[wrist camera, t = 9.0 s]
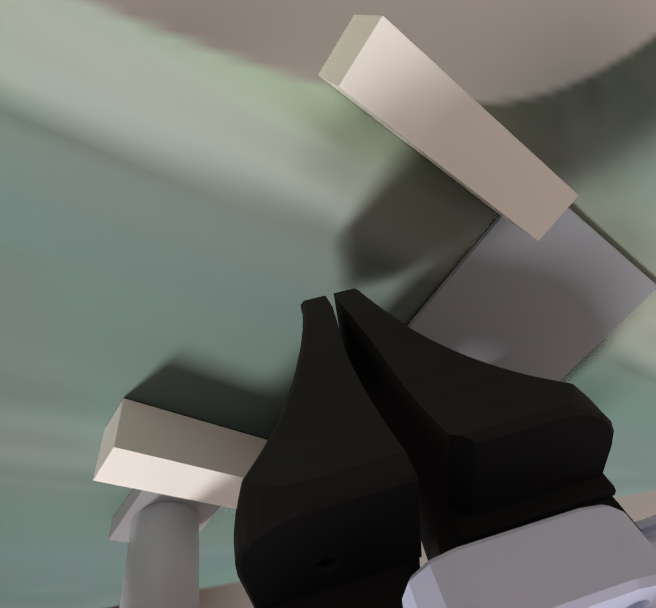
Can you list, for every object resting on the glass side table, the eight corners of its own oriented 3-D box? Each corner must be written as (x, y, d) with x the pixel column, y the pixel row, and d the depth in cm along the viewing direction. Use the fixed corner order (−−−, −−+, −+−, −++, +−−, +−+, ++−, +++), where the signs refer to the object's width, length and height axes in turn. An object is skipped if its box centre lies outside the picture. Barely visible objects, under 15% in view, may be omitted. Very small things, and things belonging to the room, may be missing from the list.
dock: (56, 510, 17) (-15, 752, 11) (354, 14, 11) (517, 19, 5) (228, 539, 20) (239, 736, 15) (533, 173, 14) (748, 279, 8)
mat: (311, 440, 18) (312, 443, 18) (531, 176, 14) (534, 178, 14) (450, 482, 22) (452, 485, 21) (655, 284, 18) (658, 286, 17)
